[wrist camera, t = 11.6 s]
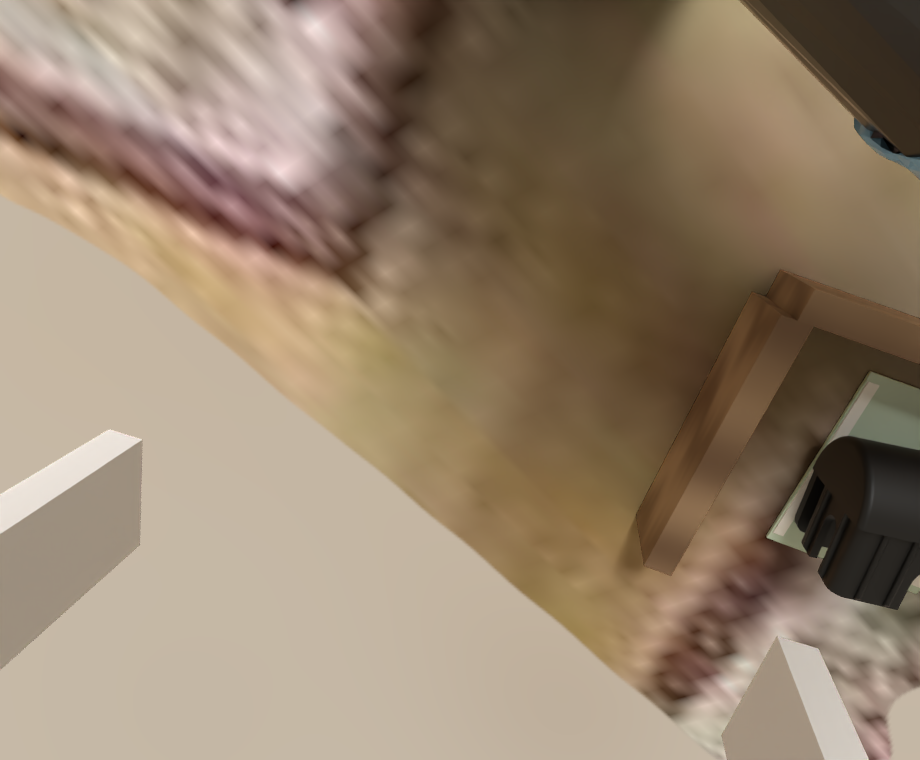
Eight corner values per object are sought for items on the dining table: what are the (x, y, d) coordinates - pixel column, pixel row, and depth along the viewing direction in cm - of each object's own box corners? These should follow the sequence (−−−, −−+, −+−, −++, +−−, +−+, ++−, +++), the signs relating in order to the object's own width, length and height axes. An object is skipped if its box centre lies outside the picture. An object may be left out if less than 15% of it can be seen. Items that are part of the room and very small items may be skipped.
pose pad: (869, 370, 32) (872, 372, 32) (1039, 431, 32) (1043, 434, 32) (765, 535, 36) (767, 538, 36) (915, 592, 36) (917, 595, 36)
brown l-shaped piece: (766, 264, 32) (798, 283, 27) (1113, 387, 31) (1208, 428, 26) (636, 514, 38) (644, 565, 33) (922, 623, 37) (972, 691, 32)
